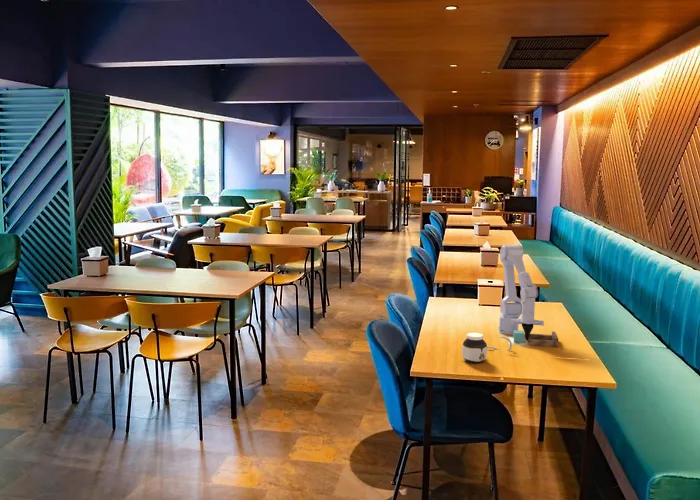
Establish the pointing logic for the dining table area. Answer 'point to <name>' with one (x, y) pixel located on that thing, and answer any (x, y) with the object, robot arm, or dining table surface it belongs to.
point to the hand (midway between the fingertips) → (526, 339)
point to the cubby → (538, 340)
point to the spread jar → (474, 348)
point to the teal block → (518, 336)
